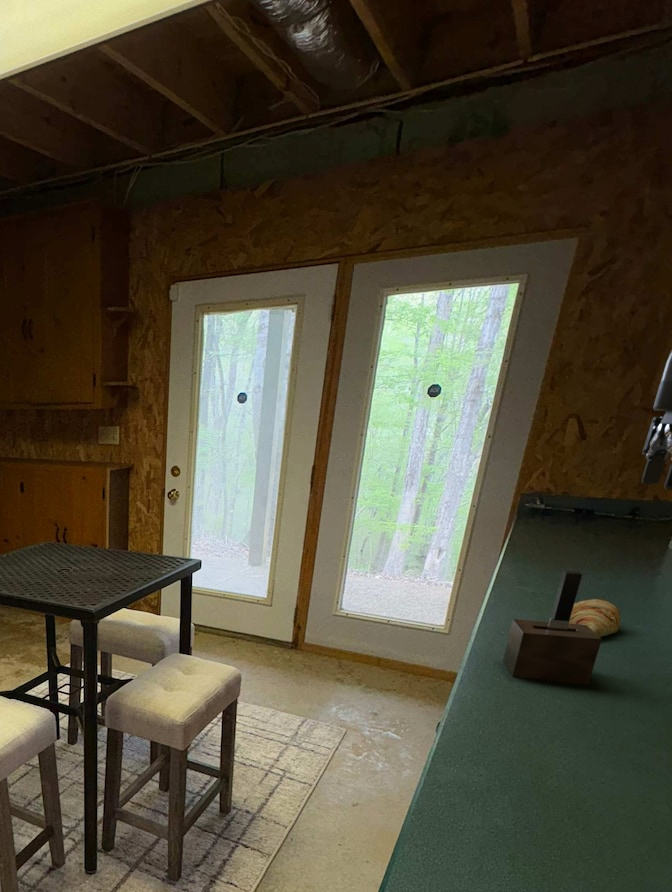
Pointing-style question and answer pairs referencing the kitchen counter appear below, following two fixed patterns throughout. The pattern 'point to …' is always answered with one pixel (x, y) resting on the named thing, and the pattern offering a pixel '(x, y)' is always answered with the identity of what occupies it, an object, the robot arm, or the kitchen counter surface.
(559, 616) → the knife
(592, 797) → the kitchen counter surface
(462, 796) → the kitchen counter surface
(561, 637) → the knife block
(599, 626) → the croissant
